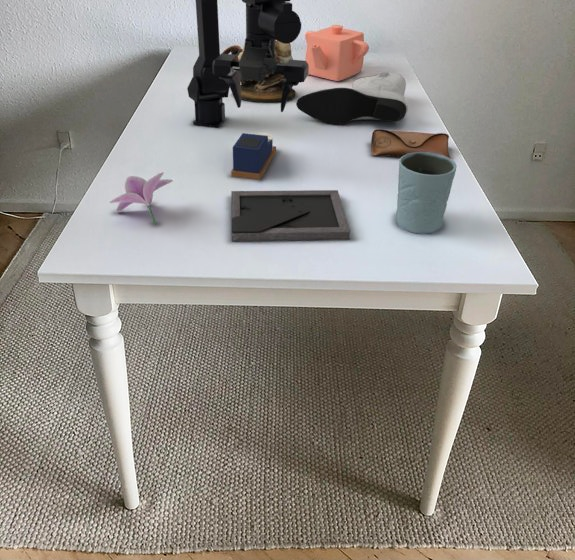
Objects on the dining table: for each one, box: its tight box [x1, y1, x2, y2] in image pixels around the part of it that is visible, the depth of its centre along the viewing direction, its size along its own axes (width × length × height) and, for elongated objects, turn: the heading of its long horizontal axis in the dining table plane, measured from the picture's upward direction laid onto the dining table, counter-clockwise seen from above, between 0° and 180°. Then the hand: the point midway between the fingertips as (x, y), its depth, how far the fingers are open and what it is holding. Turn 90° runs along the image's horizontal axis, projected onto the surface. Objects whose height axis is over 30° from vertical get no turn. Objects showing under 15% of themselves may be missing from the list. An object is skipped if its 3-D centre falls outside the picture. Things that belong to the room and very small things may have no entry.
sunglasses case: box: [370, 128, 452, 159], centre depth 142 cm, size 18×7×7 cm
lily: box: [109, 171, 174, 225], centre depth 113 cm, size 12×12×10 cm
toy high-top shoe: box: [230, 132, 277, 181], centre depth 133 cm, size 15×6×7 cm, turn 168°
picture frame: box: [230, 189, 351, 242], centre depth 116 cm, size 16×2×21 cm
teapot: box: [304, 24, 370, 82], centre depth 184 cm, size 20×22×14 cm
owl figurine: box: [238, 40, 297, 103], centre depth 166 cm, size 18×12×17 cm, turn 92°
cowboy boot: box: [295, 72, 409, 126], centre depth 162 cm, size 10×28×25 cm
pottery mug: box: [221, 44, 243, 56], centre depth 188 cm, size 12×10×8 cm
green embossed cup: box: [395, 152, 458, 235], centre depth 113 cm, size 10×10×12 cm
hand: (260, 109), depth 129 cm, fingers open, 9 cm apart
